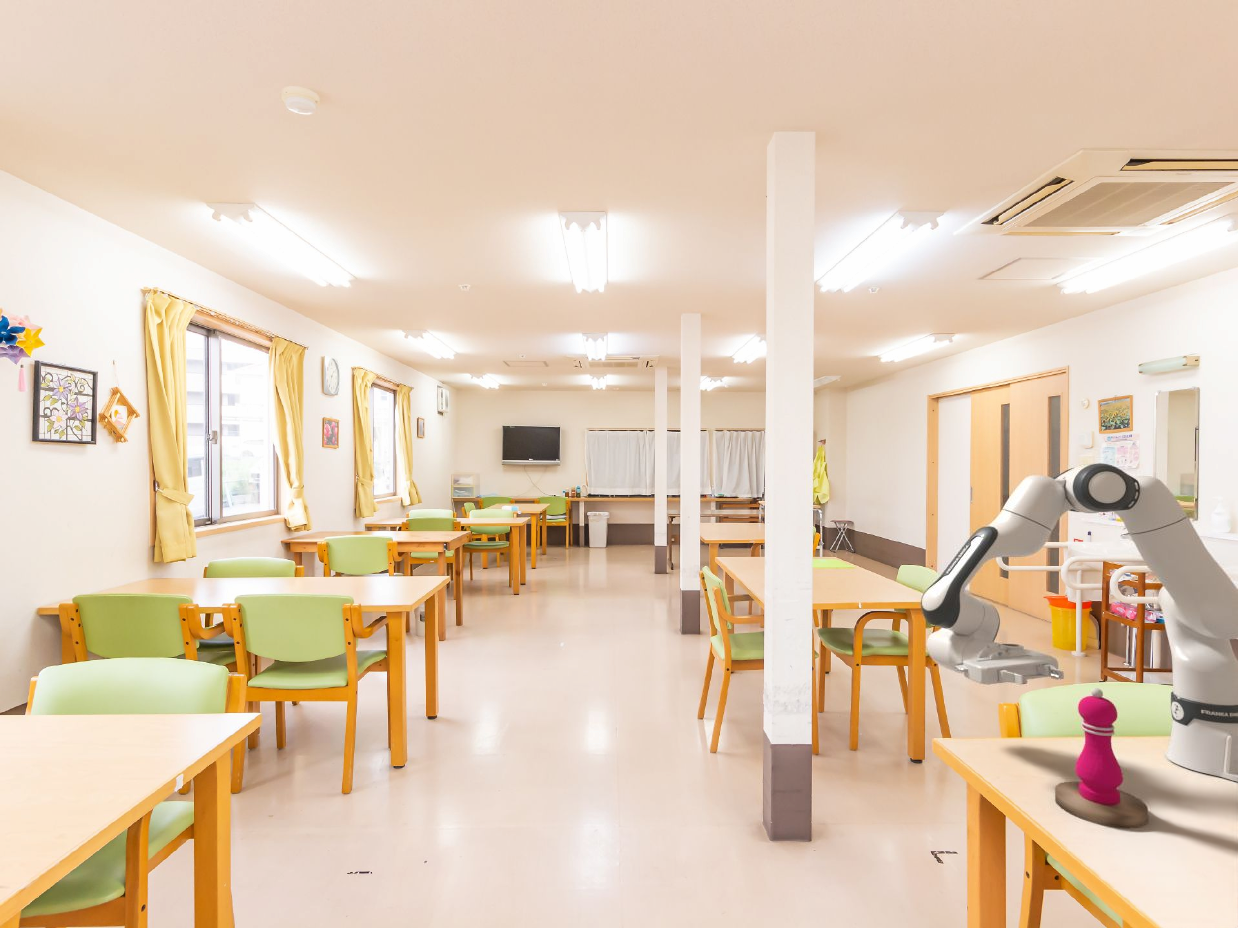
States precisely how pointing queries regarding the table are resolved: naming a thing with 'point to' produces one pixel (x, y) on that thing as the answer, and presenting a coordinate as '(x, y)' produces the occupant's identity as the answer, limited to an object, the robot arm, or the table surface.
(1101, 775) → the pepper mill
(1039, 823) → the table surface
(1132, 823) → the walnut board
